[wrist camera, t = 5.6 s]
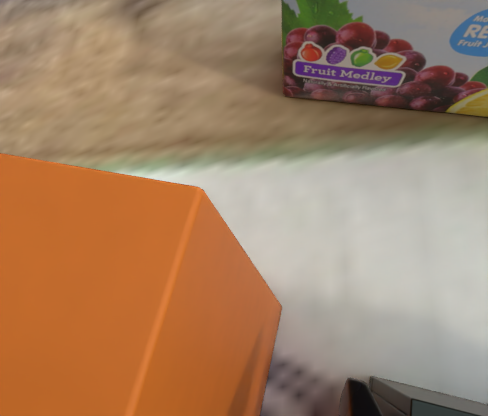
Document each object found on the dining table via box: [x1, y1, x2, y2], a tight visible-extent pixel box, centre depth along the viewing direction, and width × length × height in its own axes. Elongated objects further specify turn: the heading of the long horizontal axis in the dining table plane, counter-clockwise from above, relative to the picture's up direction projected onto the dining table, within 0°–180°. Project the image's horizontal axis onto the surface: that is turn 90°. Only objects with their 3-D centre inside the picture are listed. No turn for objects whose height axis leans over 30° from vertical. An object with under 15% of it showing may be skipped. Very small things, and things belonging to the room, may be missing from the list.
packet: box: [0, 153, 282, 416], centre depth 8 cm, size 7×3×13 cm, turn 166°
